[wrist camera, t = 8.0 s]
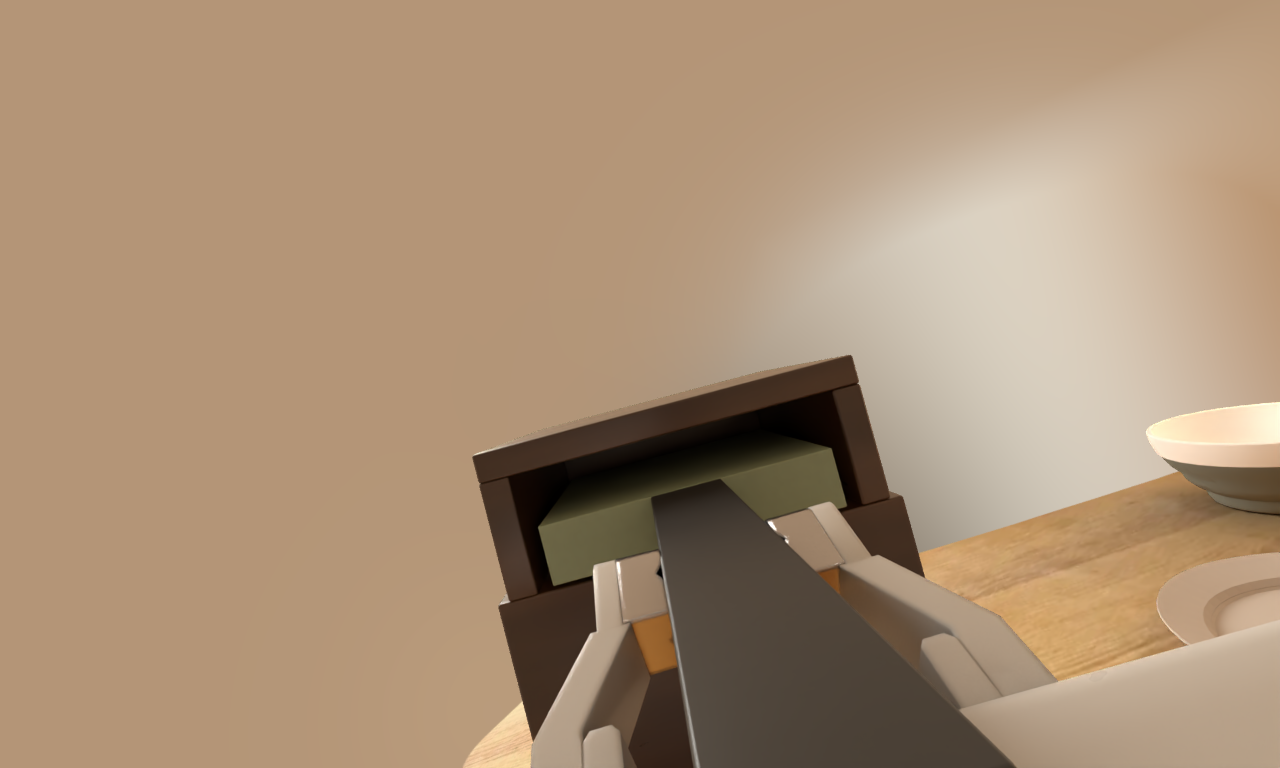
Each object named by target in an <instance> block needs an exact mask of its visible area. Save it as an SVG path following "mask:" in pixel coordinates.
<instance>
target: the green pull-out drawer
mask: <svg viewBox="0 0 1280 768" xmlns="http://www.w3.org/2000/svg"><path fill="white" fill-rule="evenodd" d="M829 501H830V502H831V503H833V504H834V505H835V507H836V508H837V509H840V508H843V507H846V506H847V504H846V500H845V496H844V493H843V489H842V485H841V482H840V478H839V474H838V471H837V467H836V463H835V460H834V456H833V452H832V449H831V448H828V447H824V446H821V445H817V444H813V443H810V442H806V441H802V440H799V439H795V438H791V437H787V436H784V435H780V434H776V433H773V432H769V431H765V430H762V429H760V430H756V431H752V432H748V433H745V434H741V435H737V436H733V437H730V438H726V439H722V440H718V441H715V442H711V443H707V444H704V445H700V446H696V447H692V448H689V449H685V450H681V451H677V452H674V453H670V454H666V455H662V456H659V457H655V458H651V459H647V460H644V461H640V462H636V463H633V464H629V465H625V466H621V467H618V468H614V469H610V470H606V471H603V472H599V473H595V474H591V475H588V476H584V477H580V478H576V479H573V480H572V481H571V483H570V484H569V486H568V487H567V488H566V490H565V491H564V492H563V494H562V495H561V497H560V498H559V499H558V501H557V502H556V503H555V505H554V506H553V508H552V509H551V510H550V512H549V513H548V514H547V516H546V517H545V519H544V520H543V521H542V523H541V524H540V525H539V527H538V529H539V533H540V537H541V541H542V544H543V548H544V552H545V556H546V560H547V564H548V568H549V571H550V575H551V579H552V583H553V585H554V586H556V585H559V584H563V583H567V582H570V581H574V580H578V579H582V578H585V577H589V576H593V568H594V565H596V564H600V563H604V562H608V561H612V560H616V559H619V558H623V557H627V556H631V555H635V554H639V553H643V552H647V551H652V550H656V549H659V551H660V557H661V567H662V573H663V579H664V586H665V592H666V598H667V605H668V611H669V617H670V623H671V630H672V636H673V642H674V649H675V655H676V661H677V668H678V674H679V680H680V686H681V693H682V699H683V705H684V712H685V718H686V724H687V731H688V737H689V743H690V749H691V756H692V762H693V768H1017V767H1016V766H1015V764H1014V763H1013V762H1012V761H1011V760H1010V759H1009V758H1008V757H1007V756H1006V755H1005V754H1004V753H1003V752H1002V751H1000V750H999V749H998V748H997V747H996V746H995V745H994V744H993V743H992V742H991V741H990V740H989V739H988V738H987V737H986V736H985V735H984V734H983V733H982V732H981V731H980V730H979V729H978V728H977V727H976V726H975V725H974V724H973V723H972V722H971V721H970V720H969V719H968V718H966V717H965V716H964V715H963V714H962V713H961V712H960V711H959V710H958V709H957V708H956V707H955V706H954V705H953V704H952V703H951V702H950V701H949V700H948V699H947V698H946V697H945V696H944V695H943V694H942V693H941V692H940V691H939V690H938V689H937V688H936V687H935V686H934V685H932V684H931V683H930V682H929V681H928V680H927V679H926V678H925V677H924V676H923V675H922V674H921V673H920V672H919V671H918V670H917V669H916V668H915V667H914V666H913V665H912V664H911V663H910V662H909V661H908V660H907V659H906V658H905V657H904V656H903V655H902V654H901V653H900V652H898V651H897V650H896V649H895V648H894V647H893V646H892V645H891V644H890V643H889V642H888V641H887V640H886V639H885V638H884V637H883V636H882V635H881V634H880V633H879V632H878V631H877V630H876V629H875V628H874V627H873V626H872V625H871V624H870V623H869V622H868V621H867V620H866V619H864V618H863V617H862V616H861V615H860V614H859V613H858V612H857V611H856V610H855V609H854V608H853V607H852V606H851V605H850V604H849V603H848V602H847V601H846V600H845V599H844V598H843V597H842V596H841V595H840V594H839V593H838V592H837V591H836V590H835V589H834V588H833V587H832V586H830V585H829V584H828V583H827V582H826V581H825V580H824V579H823V578H822V577H821V576H820V575H819V574H818V573H817V572H816V571H815V570H814V569H813V568H812V567H811V566H810V565H809V564H808V563H807V562H806V561H805V560H804V559H803V558H802V557H801V556H800V555H799V554H798V553H796V552H795V551H794V550H793V549H792V548H791V547H790V546H789V545H788V544H787V543H786V542H785V541H784V540H783V539H782V538H781V537H780V536H779V535H778V534H777V533H776V532H775V531H774V530H773V529H772V528H771V527H770V526H769V525H768V524H767V523H766V522H765V519H768V518H772V517H775V516H779V515H782V514H786V513H789V512H793V511H796V510H800V509H803V508H808V507H811V506H815V505H819V504H822V503H826V502H829Z"/></svg>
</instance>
